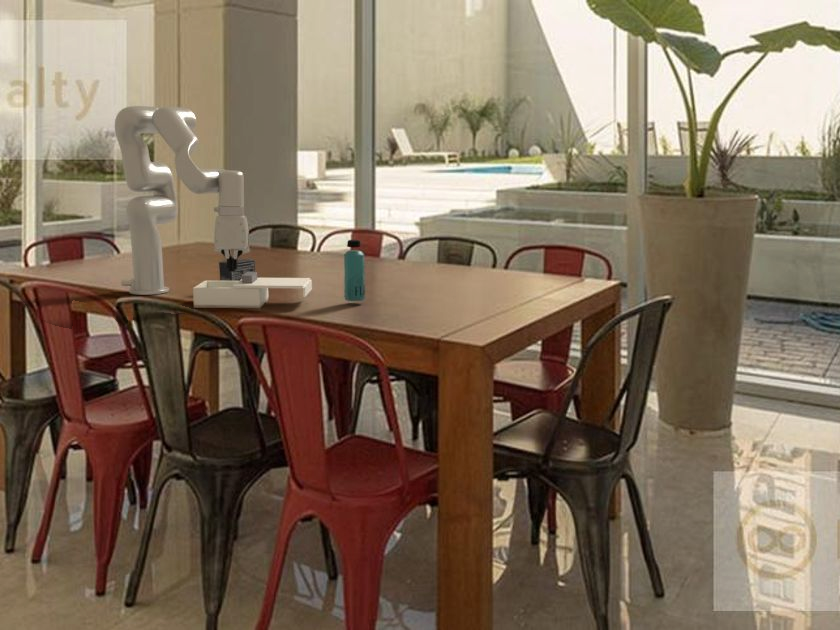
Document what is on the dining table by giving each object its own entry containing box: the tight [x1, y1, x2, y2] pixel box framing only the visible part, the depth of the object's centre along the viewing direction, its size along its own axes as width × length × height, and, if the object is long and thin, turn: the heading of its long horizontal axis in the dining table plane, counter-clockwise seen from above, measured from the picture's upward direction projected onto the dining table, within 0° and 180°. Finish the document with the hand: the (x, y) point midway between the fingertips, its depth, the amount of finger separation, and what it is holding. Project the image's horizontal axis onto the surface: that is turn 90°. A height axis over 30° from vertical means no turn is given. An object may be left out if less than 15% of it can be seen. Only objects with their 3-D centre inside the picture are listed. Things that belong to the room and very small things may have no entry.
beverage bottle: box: [343, 239, 366, 302], centre depth 274 cm, size 6×7×20 cm
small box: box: [218, 258, 256, 281], centre depth 297 cm, size 11×6×10 cm, turn 141°
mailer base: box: [192, 280, 269, 309], centre depth 275 cm, size 20×14×6 cm
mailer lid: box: [233, 271, 313, 298], centre depth 274 cm, size 22×15×6 cm
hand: (232, 271), depth 274 cm, fingers closed
